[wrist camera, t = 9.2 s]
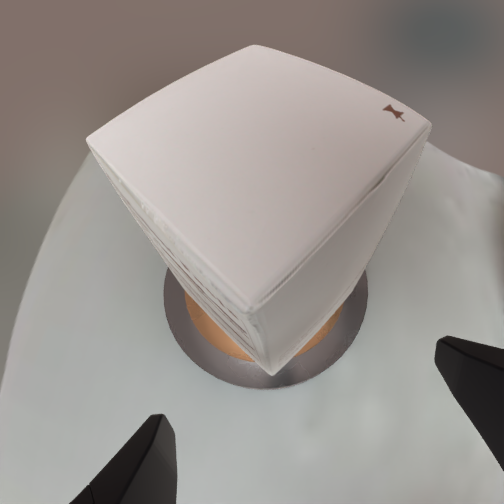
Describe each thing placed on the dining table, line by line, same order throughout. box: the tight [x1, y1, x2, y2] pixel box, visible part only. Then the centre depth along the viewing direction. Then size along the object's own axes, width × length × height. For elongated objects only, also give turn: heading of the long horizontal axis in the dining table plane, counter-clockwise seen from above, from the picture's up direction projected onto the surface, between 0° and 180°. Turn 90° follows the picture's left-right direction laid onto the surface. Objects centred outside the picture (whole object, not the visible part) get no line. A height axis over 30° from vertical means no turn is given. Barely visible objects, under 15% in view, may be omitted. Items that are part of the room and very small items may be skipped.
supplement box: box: [86, 45, 432, 376], centre depth 12 cm, size 7×7×13 cm
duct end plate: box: [164, 267, 368, 390], centre depth 19 cm, size 13×13×2 cm
